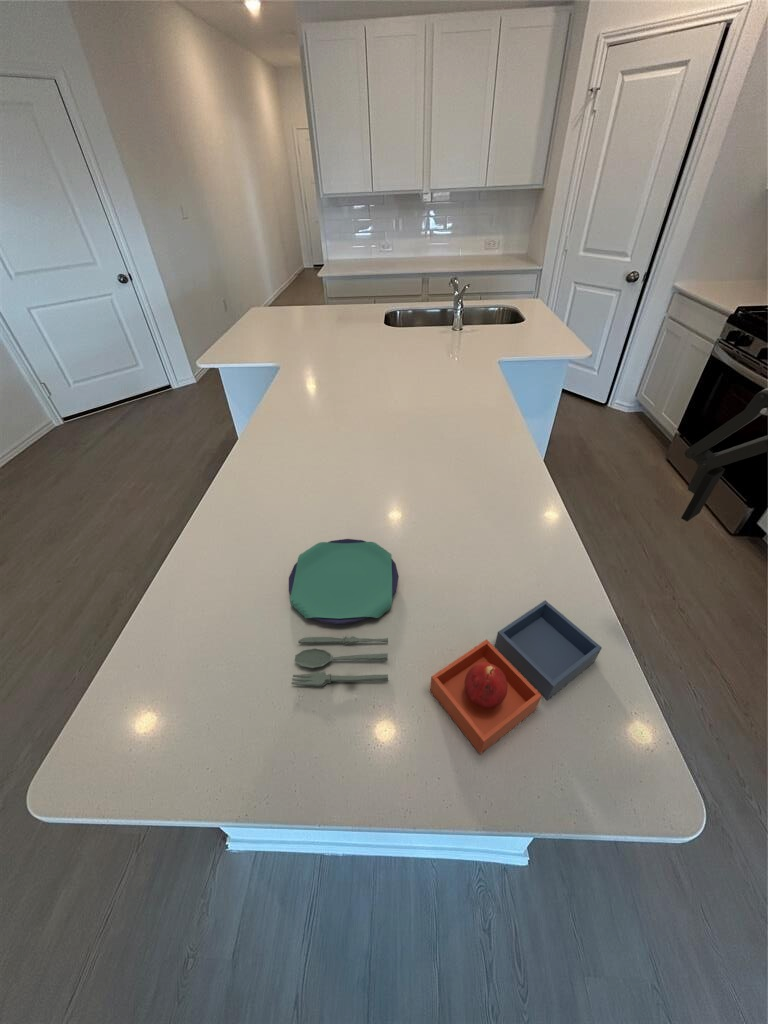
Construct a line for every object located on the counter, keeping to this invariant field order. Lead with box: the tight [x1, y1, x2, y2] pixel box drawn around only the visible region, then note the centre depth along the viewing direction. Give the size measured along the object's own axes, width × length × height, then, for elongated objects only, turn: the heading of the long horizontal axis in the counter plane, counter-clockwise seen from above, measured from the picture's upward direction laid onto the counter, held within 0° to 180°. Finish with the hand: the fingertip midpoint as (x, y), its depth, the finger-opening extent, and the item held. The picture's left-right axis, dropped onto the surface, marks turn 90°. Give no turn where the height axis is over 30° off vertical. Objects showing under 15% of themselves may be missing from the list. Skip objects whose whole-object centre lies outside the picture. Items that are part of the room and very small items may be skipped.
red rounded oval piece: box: [464, 663, 508, 709], centre depth 61 cm, size 6×6×8 cm
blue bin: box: [494, 600, 603, 701], centre depth 67 cm, size 11×11×4 cm
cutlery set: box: [288, 538, 399, 687], centre depth 76 cm, size 20×30×2 cm, turn 0°
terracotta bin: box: [429, 639, 543, 755], centre depth 62 cm, size 11×11×4 cm
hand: (751, 549), depth 48 cm, fingers open, 13 cm apart
